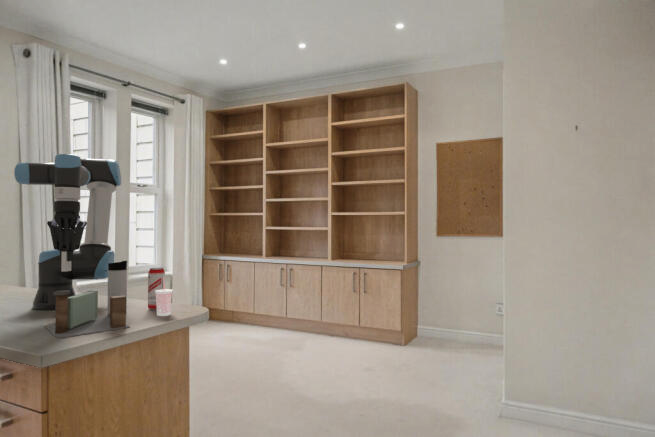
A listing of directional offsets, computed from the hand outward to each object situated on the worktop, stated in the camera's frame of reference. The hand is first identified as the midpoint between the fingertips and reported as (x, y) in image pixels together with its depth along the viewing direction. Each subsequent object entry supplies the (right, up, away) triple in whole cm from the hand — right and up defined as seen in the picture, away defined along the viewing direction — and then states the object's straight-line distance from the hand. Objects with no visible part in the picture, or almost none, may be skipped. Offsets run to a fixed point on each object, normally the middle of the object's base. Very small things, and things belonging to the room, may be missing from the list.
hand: (66, 270), depth 144 cm
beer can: (+20, -18, +25) cm, 37 cm away
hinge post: (+6, -18, -13) cm, 22 cm away
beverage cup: (+27, -18, +15) cm, 36 cm away
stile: (+20, -18, -5) cm, 27 cm away
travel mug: (+11, -18, +13) cm, 25 cm away
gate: (+7, -17, -3) cm, 18 cm away
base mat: (+9, -18, -4) cm, 20 cm away
